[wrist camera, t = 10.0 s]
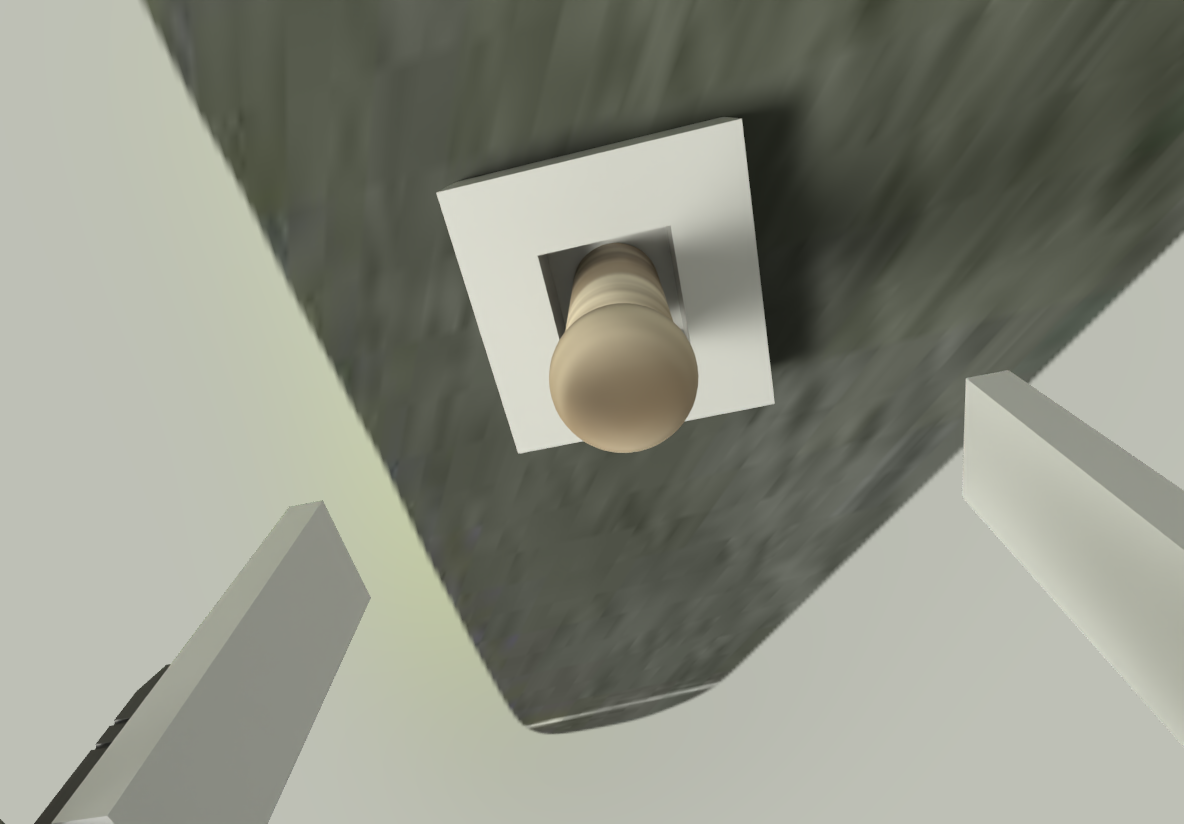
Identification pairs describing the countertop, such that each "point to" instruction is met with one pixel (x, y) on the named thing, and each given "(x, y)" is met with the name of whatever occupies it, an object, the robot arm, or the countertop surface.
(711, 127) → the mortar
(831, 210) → the countertop surface
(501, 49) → the countertop surface
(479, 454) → the countertop surface
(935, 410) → the countertop surface
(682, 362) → the pestle
